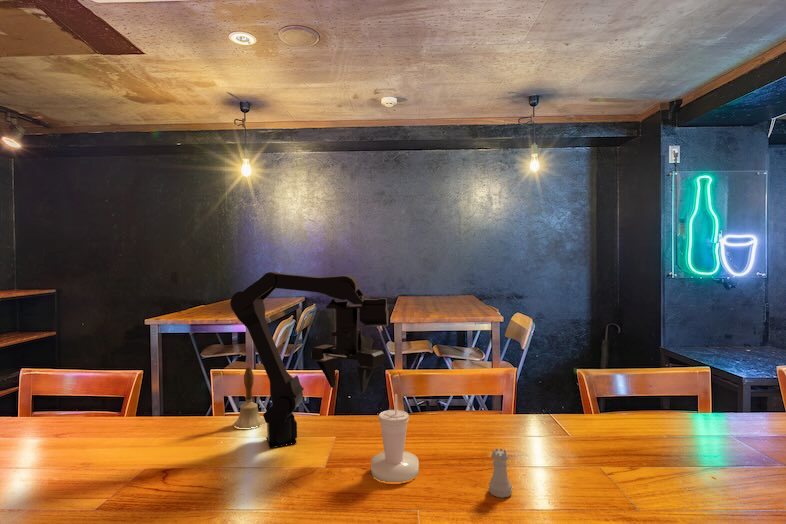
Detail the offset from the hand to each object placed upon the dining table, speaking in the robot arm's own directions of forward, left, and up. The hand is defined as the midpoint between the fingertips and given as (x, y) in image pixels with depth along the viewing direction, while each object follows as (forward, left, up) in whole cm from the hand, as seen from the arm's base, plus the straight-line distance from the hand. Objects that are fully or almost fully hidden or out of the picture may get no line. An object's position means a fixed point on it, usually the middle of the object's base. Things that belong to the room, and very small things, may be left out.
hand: (347, 389), depth 110 cm
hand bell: (-21, +24, -13) cm, 35 cm away
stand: (+4, -19, -13) cm, 23 cm away
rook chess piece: (+19, -35, -13) cm, 42 cm away
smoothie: (+4, -19, -11) cm, 22 cm away
